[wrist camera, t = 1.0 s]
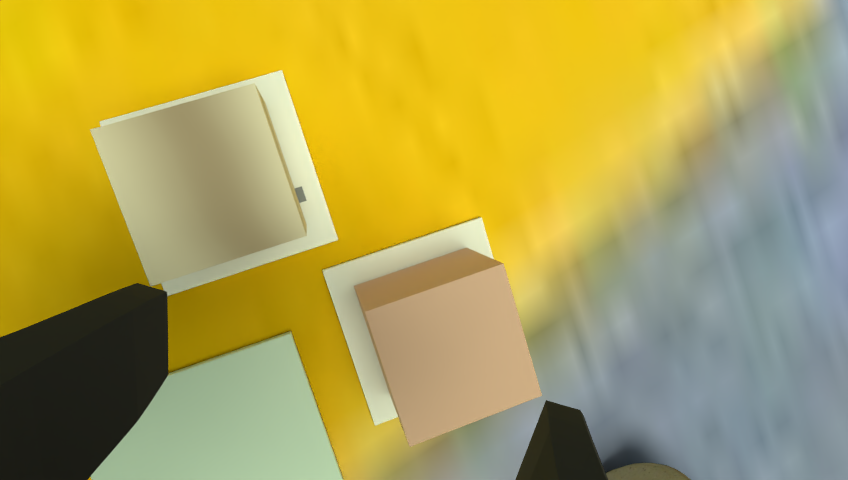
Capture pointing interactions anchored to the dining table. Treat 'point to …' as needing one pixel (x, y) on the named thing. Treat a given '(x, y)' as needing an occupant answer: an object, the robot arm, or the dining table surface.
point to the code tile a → (300, 173)
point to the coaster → (230, 423)
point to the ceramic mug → (646, 472)
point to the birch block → (201, 182)
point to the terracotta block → (448, 342)
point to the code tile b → (377, 266)
